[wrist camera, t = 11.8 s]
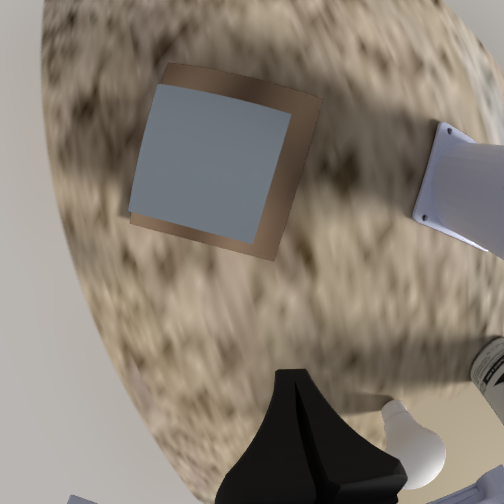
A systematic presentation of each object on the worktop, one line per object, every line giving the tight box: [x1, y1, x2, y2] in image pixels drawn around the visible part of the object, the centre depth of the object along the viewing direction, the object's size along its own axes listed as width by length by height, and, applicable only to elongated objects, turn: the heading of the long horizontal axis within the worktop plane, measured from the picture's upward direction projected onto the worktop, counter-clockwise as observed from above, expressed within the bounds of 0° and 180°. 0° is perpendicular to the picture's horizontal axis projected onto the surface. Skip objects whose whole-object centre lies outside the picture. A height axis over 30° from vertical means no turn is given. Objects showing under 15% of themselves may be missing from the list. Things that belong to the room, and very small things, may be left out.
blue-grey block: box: [128, 84, 292, 244], centre depth 15 cm, size 6×6×7 cm
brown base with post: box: [130, 62, 323, 261], centre depth 16 cm, size 10×11×6 cm
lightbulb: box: [381, 400, 446, 489], centre depth 21 cm, size 6×6×11 cm
